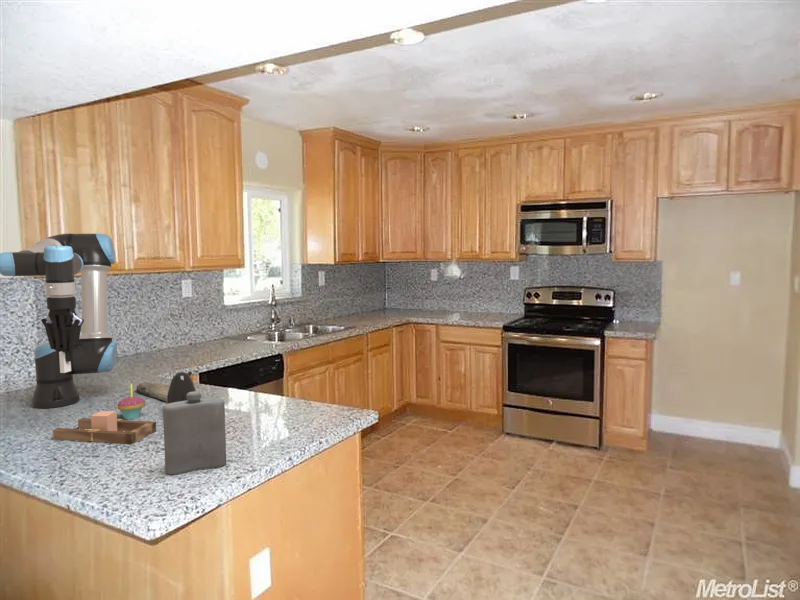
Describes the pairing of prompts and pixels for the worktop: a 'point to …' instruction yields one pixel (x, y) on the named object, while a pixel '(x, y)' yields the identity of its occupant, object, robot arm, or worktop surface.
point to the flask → (194, 434)
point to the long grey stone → (154, 390)
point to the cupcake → (131, 406)
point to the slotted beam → (107, 432)
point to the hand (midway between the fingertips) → (65, 371)
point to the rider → (104, 421)
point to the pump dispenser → (180, 387)
